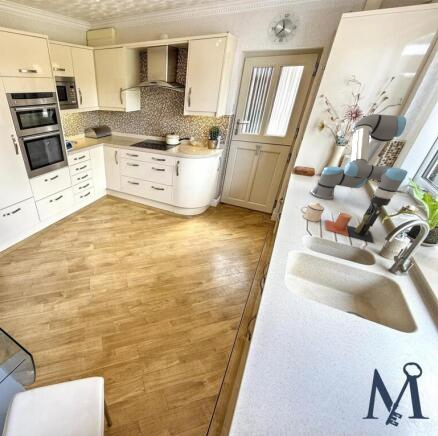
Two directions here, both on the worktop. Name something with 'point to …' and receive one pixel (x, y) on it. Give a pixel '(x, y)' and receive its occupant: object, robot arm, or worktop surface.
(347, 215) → the copper-orange cylinder
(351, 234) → the charcoal mat
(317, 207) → the teacup with lid
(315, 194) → the robot arm
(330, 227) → the terracotta mat
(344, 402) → the worktop surface
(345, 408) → the worktop surface
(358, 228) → the olive rounded bottle shape
